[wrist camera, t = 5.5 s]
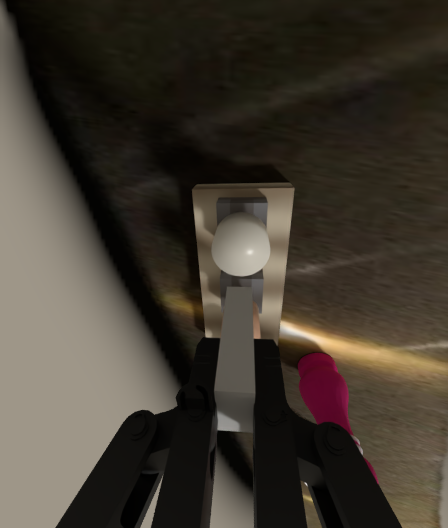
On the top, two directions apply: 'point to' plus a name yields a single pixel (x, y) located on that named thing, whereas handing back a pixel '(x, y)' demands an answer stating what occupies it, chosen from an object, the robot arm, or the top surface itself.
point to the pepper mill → (326, 392)
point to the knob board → (265, 280)
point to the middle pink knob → (255, 321)
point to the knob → (241, 244)
